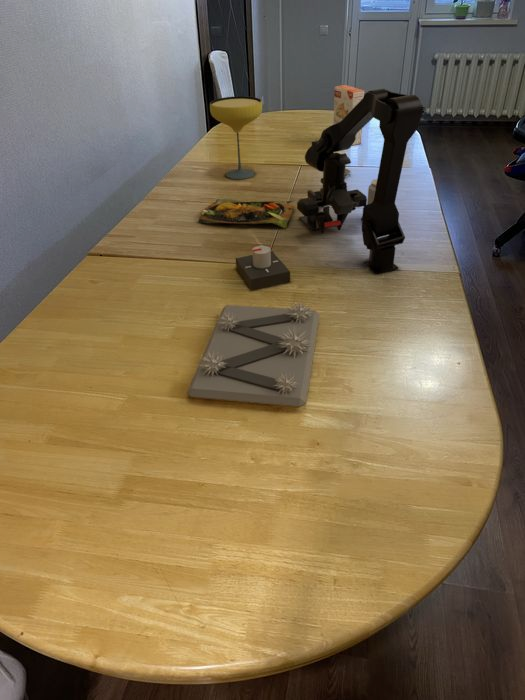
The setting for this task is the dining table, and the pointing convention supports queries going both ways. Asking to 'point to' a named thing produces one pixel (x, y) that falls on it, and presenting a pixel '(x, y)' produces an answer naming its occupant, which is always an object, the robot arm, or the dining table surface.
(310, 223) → the dark grey lever stand
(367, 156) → the dining table surface
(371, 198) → the can
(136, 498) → the dining table surface
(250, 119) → the cocktail glass
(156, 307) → the dining table surface
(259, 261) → the knob
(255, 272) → the dial panel
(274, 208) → the prepared meal
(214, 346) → the decorative plate
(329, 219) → the toast lever
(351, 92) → the cracker box
